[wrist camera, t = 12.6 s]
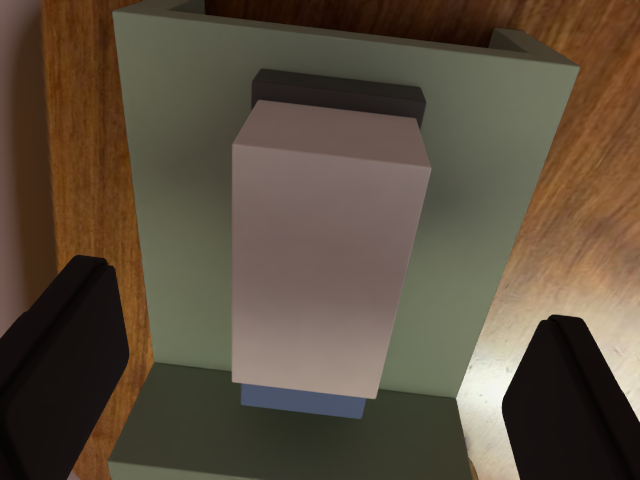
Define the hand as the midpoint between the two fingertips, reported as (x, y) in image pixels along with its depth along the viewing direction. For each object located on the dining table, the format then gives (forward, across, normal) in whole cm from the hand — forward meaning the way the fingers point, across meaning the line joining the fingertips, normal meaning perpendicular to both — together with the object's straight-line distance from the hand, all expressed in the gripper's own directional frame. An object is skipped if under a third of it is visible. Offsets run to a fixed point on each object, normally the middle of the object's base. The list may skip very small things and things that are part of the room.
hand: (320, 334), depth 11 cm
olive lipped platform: (+13, 0, +3) cm, 14 cm away
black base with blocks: (+7, 0, +2) cm, 8 cm away
